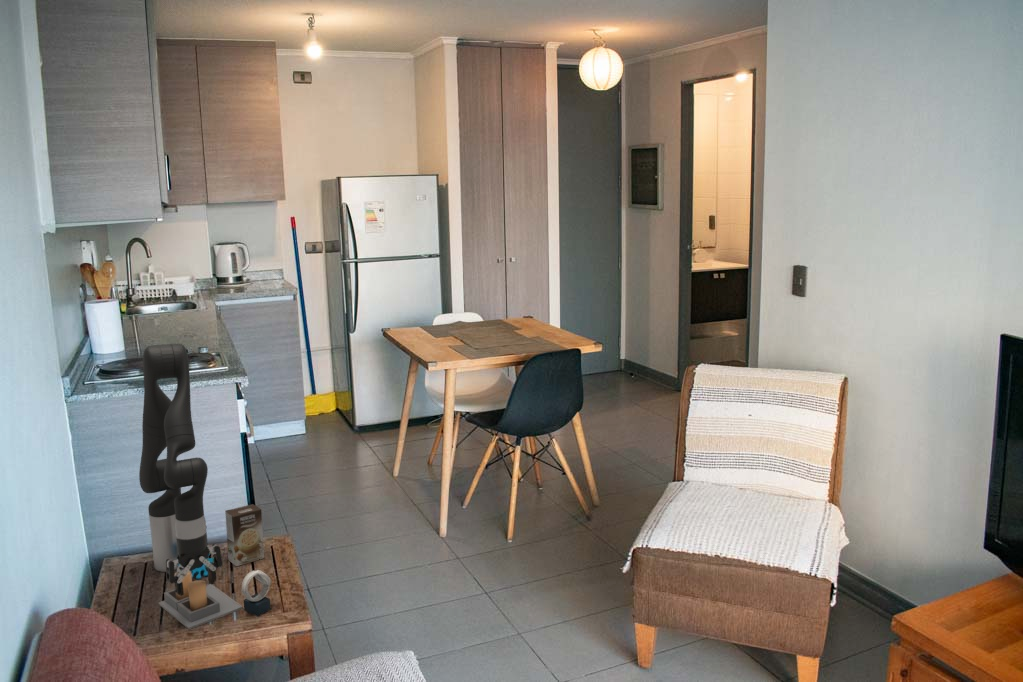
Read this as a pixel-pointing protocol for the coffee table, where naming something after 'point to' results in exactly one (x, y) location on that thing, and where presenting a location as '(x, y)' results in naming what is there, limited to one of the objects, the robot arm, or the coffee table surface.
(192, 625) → the housing
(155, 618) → the coffee table surface
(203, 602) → the orange peg
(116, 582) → the coffee table surface
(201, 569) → the blue knobbed wheel
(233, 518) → the coffee box
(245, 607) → the watch
